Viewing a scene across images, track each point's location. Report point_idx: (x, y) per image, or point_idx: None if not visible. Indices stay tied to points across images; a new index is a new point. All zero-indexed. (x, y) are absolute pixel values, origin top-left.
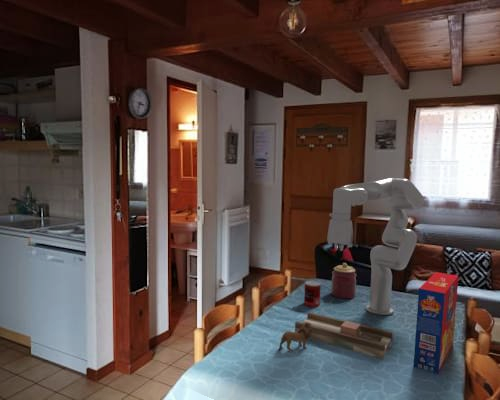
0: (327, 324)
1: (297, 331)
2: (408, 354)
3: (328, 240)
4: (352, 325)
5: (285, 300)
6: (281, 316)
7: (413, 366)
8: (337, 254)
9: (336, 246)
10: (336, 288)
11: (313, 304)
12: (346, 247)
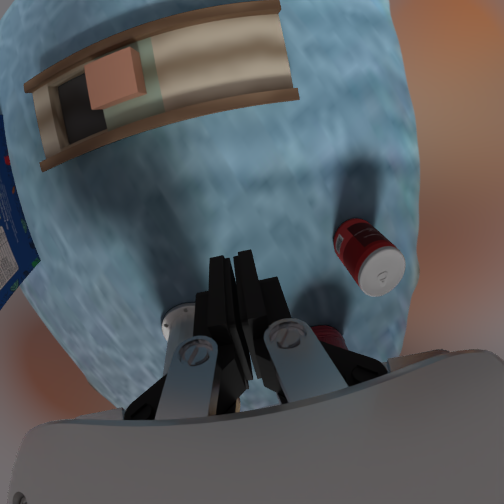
0: (212, 87)
1: None
2: (23, 152)
3: (494, 360)
4: (104, 79)
5: (415, 212)
6: (373, 97)
7: (2, 115)
8: (246, 281)
9: (294, 368)
10: (328, 341)
11: (344, 226)
12: (133, 403)
